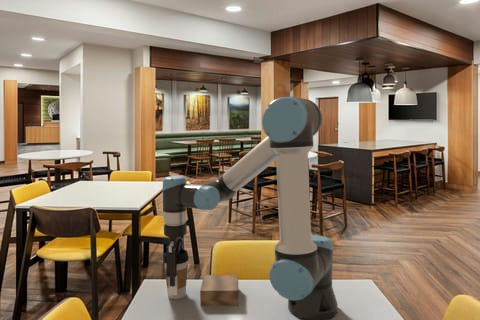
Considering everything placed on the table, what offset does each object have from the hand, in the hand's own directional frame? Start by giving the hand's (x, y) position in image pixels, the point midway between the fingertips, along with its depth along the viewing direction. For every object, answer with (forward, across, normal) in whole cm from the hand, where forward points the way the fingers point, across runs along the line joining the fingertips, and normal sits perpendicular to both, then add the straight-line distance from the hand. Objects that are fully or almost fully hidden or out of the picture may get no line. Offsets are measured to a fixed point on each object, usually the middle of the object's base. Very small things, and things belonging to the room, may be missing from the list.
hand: (176, 289), depth 127 cm
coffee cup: (+2, 0, 0) cm, 2 cm away
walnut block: (+2, 0, +15) cm, 15 cm away
